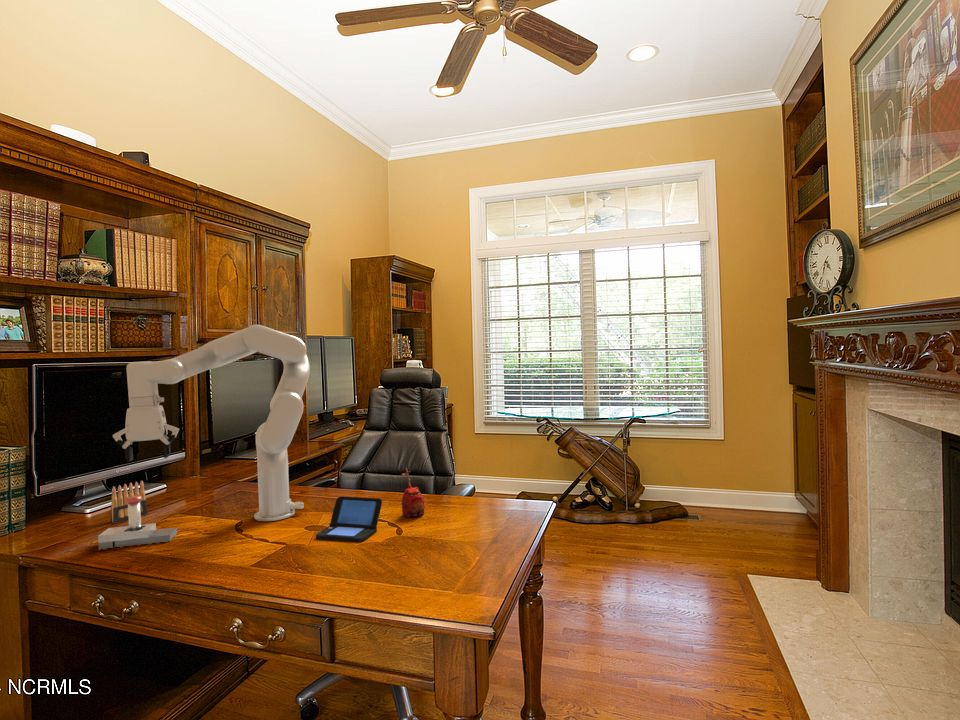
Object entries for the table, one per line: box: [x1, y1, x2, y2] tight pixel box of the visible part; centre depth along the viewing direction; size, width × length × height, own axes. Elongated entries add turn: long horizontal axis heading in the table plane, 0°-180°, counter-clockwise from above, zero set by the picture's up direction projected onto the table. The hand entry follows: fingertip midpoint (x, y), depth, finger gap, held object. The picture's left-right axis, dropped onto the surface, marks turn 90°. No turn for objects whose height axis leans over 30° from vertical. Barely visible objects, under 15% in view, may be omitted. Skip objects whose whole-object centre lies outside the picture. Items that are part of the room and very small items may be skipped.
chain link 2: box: [114, 527, 178, 548], centre depth 154 cm, size 14×7×2 cm, turn 105°
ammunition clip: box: [110, 480, 148, 524], centre depth 177 cm, size 11×2×12 cm, turn 151°
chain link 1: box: [97, 522, 157, 551], centre depth 153 cm, size 12×7×4 cm, turn 105°
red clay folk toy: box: [401, 467, 426, 519], centre depth 171 cm, size 8×7×15 cm
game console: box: [315, 495, 383, 543], centre depth 155 cm, size 16×14×9 cm
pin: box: [126, 495, 142, 531], centre depth 153 cm, size 4×4×13 cm
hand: (148, 459), depth 158 cm, fingers open, 9 cm apart
